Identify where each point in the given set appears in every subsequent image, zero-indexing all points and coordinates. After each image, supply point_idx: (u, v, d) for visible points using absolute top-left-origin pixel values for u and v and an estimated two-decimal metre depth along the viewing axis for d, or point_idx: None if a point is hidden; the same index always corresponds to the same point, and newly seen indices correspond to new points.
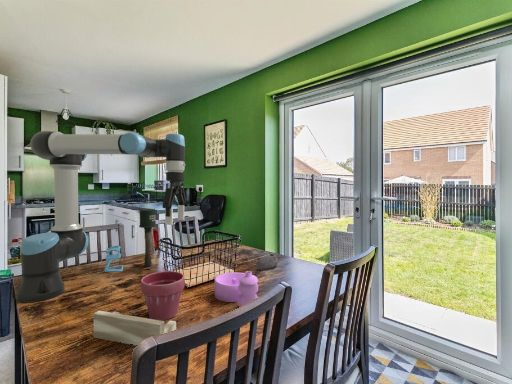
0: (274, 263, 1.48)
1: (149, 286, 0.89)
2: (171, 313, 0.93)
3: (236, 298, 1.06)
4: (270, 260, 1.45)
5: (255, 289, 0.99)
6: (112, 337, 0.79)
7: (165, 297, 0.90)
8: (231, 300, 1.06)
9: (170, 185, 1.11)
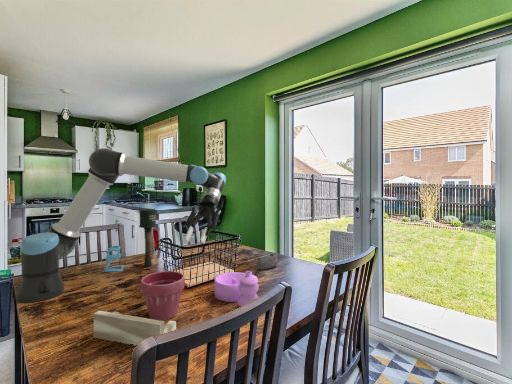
0: (274, 263, 1.48)
1: (149, 286, 0.89)
2: (171, 313, 0.93)
3: (236, 298, 1.06)
4: (270, 260, 1.45)
5: (255, 289, 0.99)
6: (112, 337, 0.79)
7: (165, 297, 0.90)
8: (231, 300, 1.06)
9: (220, 212, 1.26)
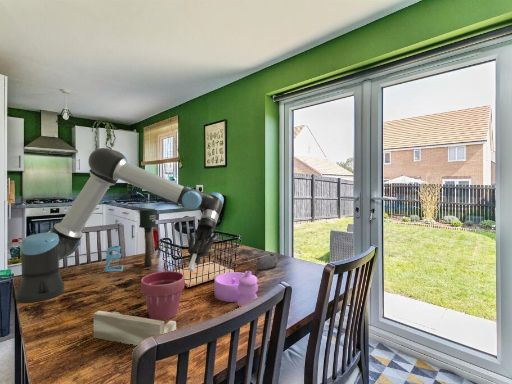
0: (274, 263, 1.48)
1: (149, 286, 0.89)
2: (171, 313, 0.93)
3: (236, 298, 1.06)
4: (270, 260, 1.46)
5: (255, 289, 0.99)
6: (112, 337, 0.79)
7: (165, 297, 0.90)
8: (230, 300, 1.06)
9: (215, 238, 1.20)
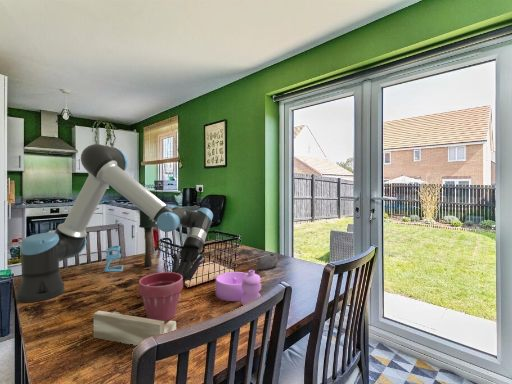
0: (274, 263, 1.48)
1: (147, 287, 0.87)
2: (169, 315, 0.91)
3: (238, 297, 1.07)
4: (270, 260, 1.45)
5: (258, 287, 1.00)
6: (112, 337, 0.79)
7: (163, 298, 0.89)
8: (233, 299, 1.07)
9: (202, 260, 1.09)
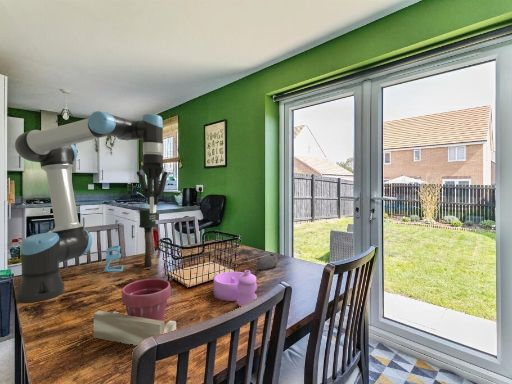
0: (274, 263, 1.48)
1: (132, 297, 0.80)
2: None
3: (235, 297, 1.07)
4: (270, 260, 1.46)
5: (254, 288, 1.00)
6: (112, 337, 0.79)
7: (150, 308, 0.82)
8: (230, 299, 1.07)
9: (168, 174, 1.13)
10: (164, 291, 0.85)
